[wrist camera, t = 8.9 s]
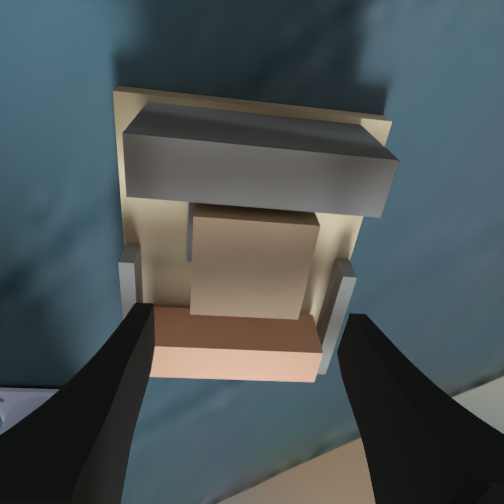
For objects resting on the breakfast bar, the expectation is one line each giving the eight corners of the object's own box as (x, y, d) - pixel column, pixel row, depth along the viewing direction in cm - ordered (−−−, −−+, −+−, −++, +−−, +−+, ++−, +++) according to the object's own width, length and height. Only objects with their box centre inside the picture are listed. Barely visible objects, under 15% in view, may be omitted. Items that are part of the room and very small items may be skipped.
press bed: (317, 341, 28) (338, 418, 23) (135, 332, 27) (112, 412, 21) (383, 115, 19) (440, 156, 14) (119, 85, 18) (75, 119, 13)
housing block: (284, 259, 22) (298, 319, 18) (197, 253, 22) (189, 314, 17) (300, 177, 19) (320, 226, 15) (200, 169, 19) (193, 216, 15)
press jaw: (305, 342, 26) (314, 382, 23) (153, 336, 25) (143, 376, 22) (312, 314, 24) (323, 353, 22) (152, 306, 23) (142, 345, 21)
